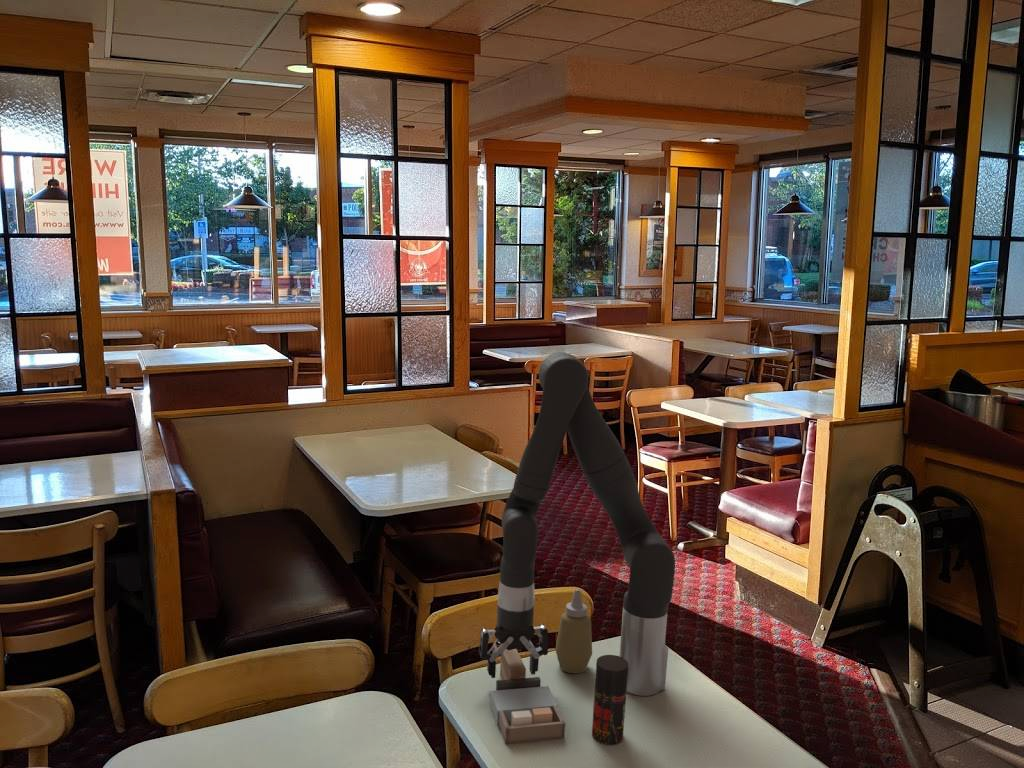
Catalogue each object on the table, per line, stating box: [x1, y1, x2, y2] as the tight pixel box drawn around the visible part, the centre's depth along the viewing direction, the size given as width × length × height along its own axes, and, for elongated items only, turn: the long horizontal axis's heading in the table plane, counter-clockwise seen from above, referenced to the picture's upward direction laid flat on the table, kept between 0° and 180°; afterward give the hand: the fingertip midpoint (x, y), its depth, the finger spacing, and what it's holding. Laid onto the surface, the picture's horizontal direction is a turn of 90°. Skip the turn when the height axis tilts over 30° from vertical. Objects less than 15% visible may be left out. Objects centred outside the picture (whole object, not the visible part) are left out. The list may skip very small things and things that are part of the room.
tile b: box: [511, 710, 532, 726], centre depth 152 cm, size 4×4×2 cm
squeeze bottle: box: [555, 588, 593, 674], centre depth 176 cm, size 8×8×18 cm
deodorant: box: [591, 654, 628, 746], centre depth 152 cm, size 6×6×15 cm
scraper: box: [495, 649, 541, 691], centre depth 168 cm, size 9×10×6 cm
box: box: [498, 706, 566, 745], centre depth 153 cm, size 11×6×3 cm, turn 103°
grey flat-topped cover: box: [489, 685, 559, 726], centre depth 159 cm, size 12×7×3 cm, turn 103°
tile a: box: [532, 707, 552, 724], centre depth 153 cm, size 4×4×2 cm
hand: (512, 674), depth 169 cm, fingers open, 8 cm apart
